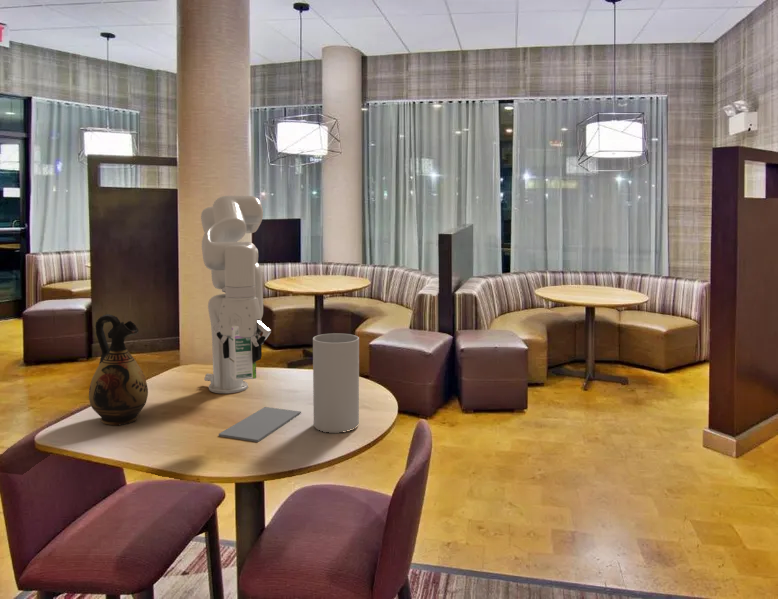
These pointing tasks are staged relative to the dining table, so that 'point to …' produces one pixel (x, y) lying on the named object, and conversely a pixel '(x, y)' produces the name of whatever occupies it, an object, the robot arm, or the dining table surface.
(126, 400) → the ceramic jug
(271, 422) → the slate mat
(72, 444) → the dining table surface
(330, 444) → the dining table surface
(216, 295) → the robot arm
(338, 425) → the cylinder vase
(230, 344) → the syrup box
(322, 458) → the dining table surface
